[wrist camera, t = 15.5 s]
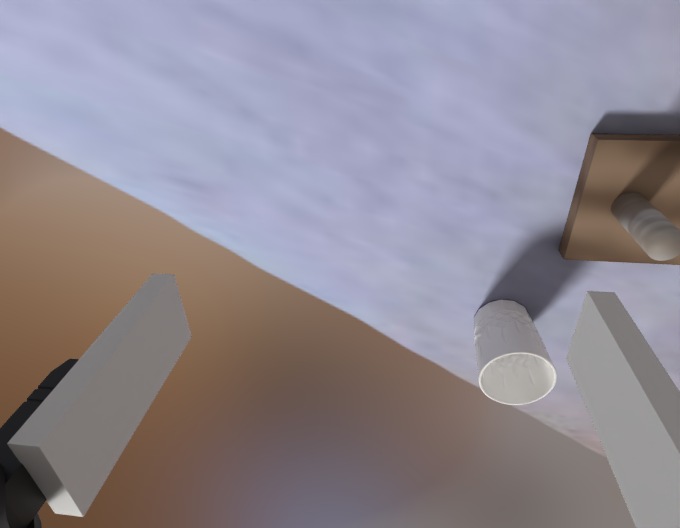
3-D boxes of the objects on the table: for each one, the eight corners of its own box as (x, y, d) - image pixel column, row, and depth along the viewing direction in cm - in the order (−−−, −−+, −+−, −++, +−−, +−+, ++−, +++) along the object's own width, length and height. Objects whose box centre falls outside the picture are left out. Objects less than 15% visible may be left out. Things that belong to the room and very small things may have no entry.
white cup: (485, 287, 54) (499, 343, 46) (546, 306, 54) (571, 365, 46) (458, 333, 58) (466, 393, 50) (515, 351, 59) (533, 413, 50)
